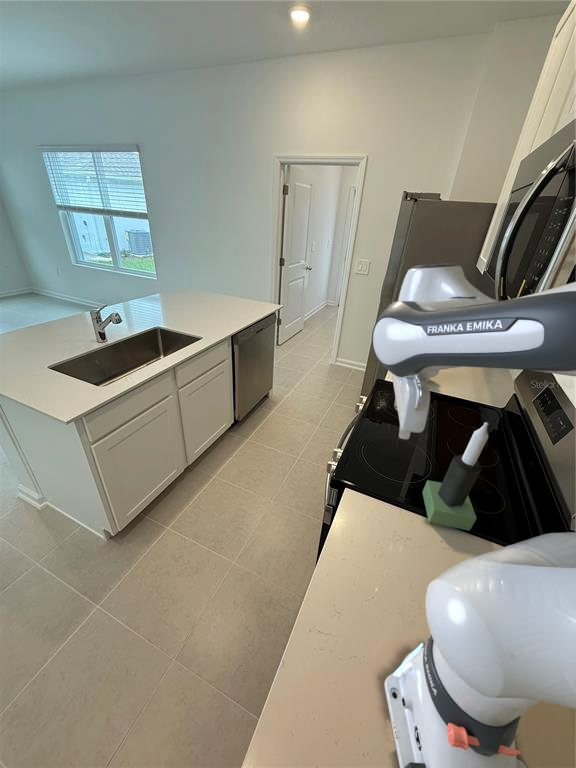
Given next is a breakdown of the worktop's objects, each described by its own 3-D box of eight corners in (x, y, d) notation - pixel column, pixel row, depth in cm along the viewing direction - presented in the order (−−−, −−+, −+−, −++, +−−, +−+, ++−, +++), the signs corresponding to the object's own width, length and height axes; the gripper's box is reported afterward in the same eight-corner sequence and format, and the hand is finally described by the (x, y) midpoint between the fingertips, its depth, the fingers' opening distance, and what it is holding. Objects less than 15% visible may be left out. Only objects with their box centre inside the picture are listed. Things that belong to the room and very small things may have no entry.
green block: (469, 530, 78) (476, 518, 76) (428, 522, 80) (434, 510, 77) (459, 499, 87) (465, 487, 84) (422, 492, 88) (427, 480, 86)
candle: (447, 507, 78) (485, 430, 65) (435, 491, 82) (469, 416, 69) (465, 505, 79) (505, 428, 66) (452, 489, 83) (488, 414, 70)
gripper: (446, 390, 45) (426, 460, 52) (423, 339, 63) (411, 397, 69) (401, 385, 46) (387, 454, 53) (391, 337, 64) (382, 394, 71)
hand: (400, 421), depth 61 cm, fingers open, 8 cm apart
